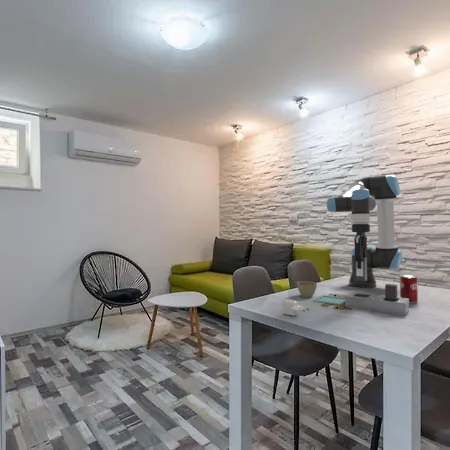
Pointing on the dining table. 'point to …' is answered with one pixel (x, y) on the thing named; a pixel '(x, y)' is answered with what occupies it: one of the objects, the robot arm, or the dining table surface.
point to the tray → (330, 299)
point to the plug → (364, 277)
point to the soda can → (409, 288)
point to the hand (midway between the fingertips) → (361, 275)
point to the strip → (379, 301)
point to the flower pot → (306, 288)
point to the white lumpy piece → (292, 307)
